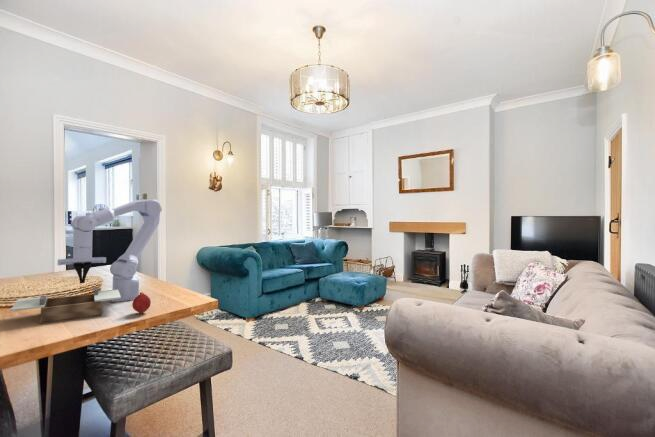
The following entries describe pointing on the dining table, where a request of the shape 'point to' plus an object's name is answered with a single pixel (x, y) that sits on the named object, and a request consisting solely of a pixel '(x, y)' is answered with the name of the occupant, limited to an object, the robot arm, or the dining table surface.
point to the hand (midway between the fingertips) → (82, 282)
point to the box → (70, 308)
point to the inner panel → (106, 295)
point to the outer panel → (30, 303)
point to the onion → (141, 303)
